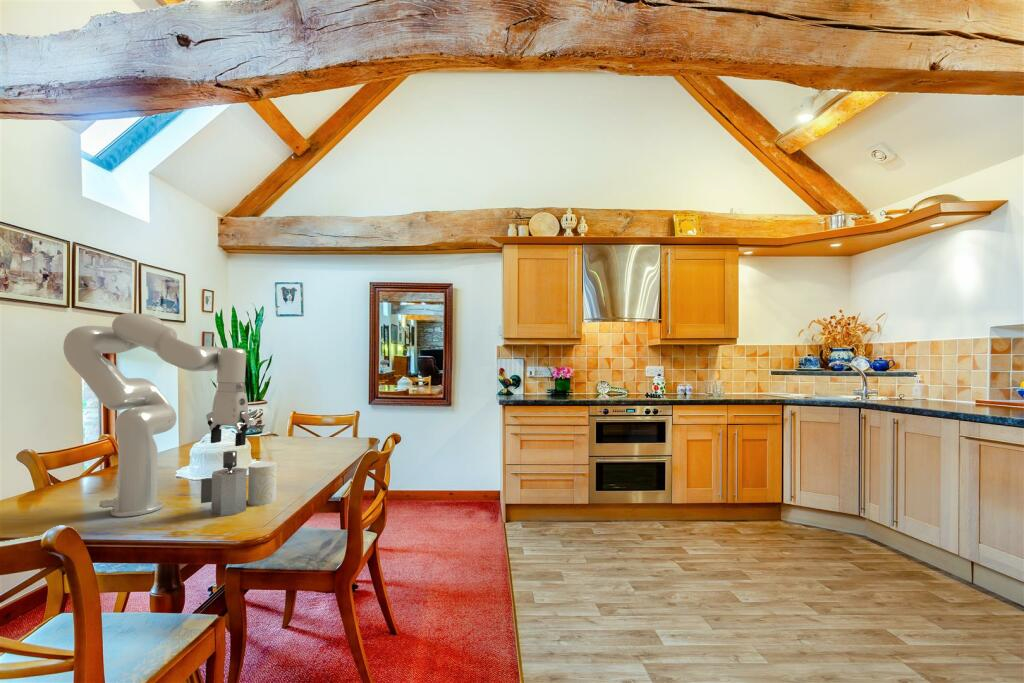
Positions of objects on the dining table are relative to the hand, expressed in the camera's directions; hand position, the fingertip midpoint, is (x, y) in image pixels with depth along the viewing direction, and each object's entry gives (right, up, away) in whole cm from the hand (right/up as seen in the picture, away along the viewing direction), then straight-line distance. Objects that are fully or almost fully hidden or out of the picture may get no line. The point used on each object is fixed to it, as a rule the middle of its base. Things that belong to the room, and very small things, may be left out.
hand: (227, 443), depth 148 cm
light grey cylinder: (+6, -21, +9) cm, 23 cm away
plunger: (+1, -19, 0) cm, 19 cm away
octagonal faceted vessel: (-1, -20, -1) cm, 20 cm away
